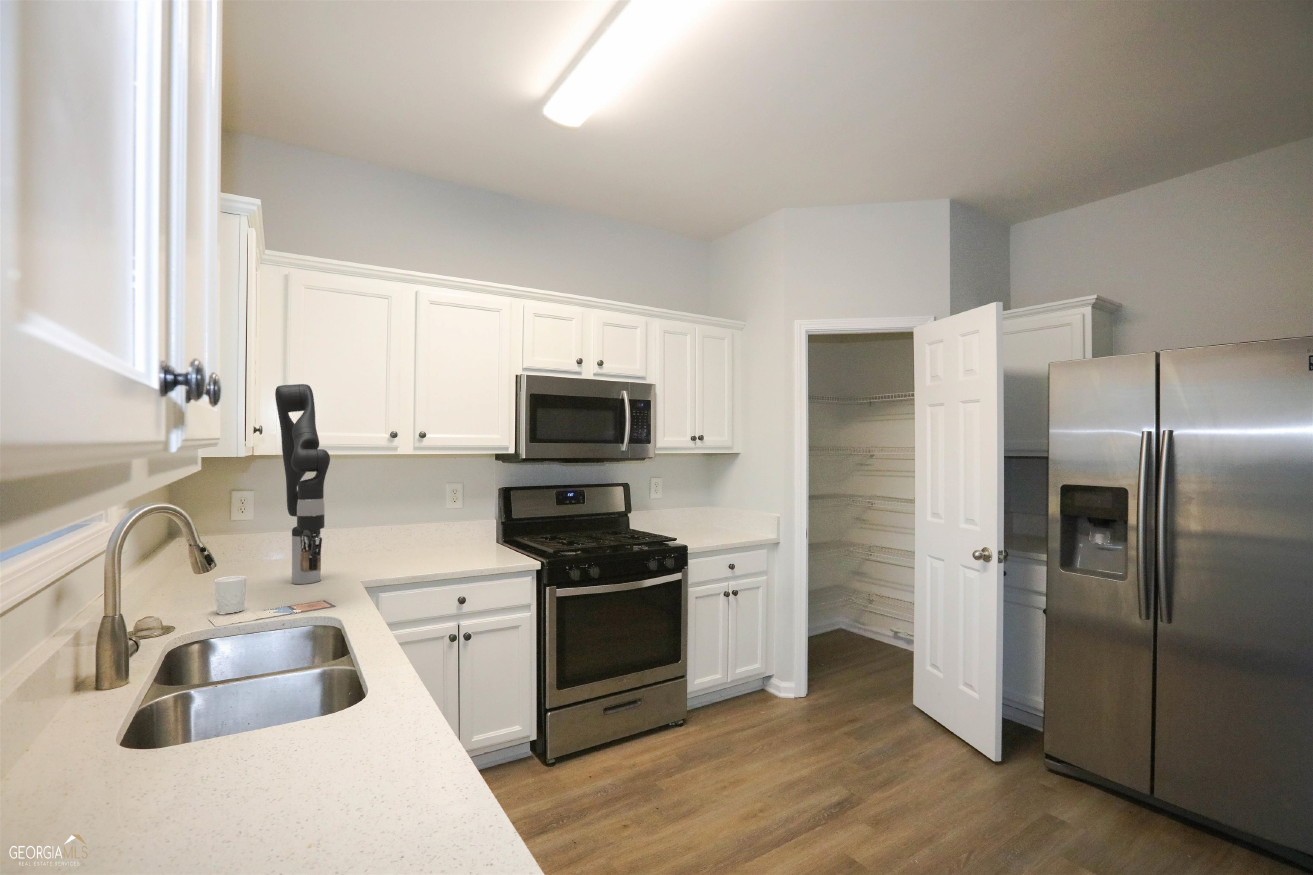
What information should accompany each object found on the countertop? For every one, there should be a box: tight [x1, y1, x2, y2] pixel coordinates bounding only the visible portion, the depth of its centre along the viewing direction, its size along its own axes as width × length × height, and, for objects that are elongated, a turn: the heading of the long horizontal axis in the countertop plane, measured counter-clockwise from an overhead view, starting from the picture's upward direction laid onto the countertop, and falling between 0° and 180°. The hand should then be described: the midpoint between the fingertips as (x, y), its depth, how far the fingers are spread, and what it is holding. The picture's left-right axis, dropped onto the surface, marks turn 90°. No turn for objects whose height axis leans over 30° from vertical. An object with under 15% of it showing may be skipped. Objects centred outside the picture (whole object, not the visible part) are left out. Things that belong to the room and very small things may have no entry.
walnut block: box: [300, 550, 322, 572], centre depth 195 cm, size 4×4×6 cm
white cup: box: [214, 575, 247, 614], centre depth 190 cm, size 8×8×10 cm
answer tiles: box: [267, 599, 337, 614], centre depth 188 cm, size 11×31×1 cm, turn 134°
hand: (310, 568), depth 195 cm, fingers closed on walnut block, 4 cm apart
